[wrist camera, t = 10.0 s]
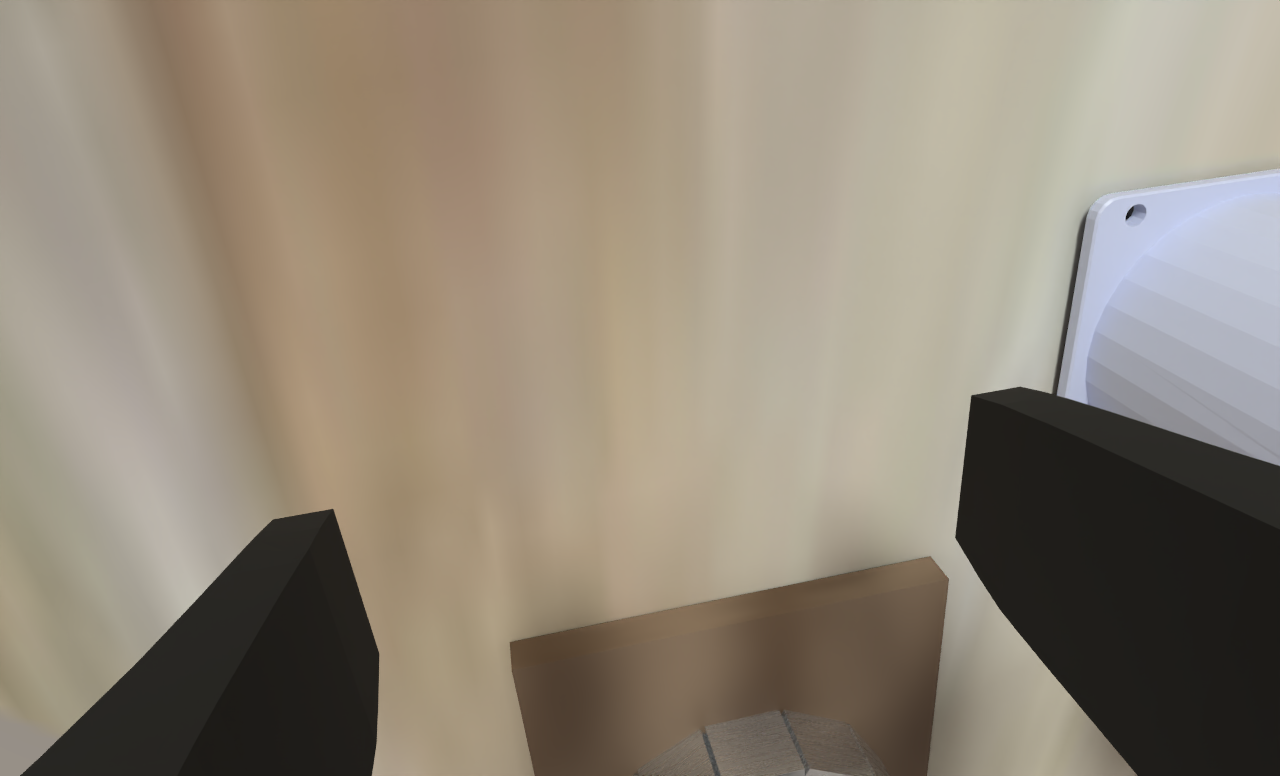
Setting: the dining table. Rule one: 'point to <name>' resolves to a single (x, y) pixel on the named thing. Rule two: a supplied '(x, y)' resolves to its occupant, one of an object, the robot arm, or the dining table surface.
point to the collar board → (745, 683)
